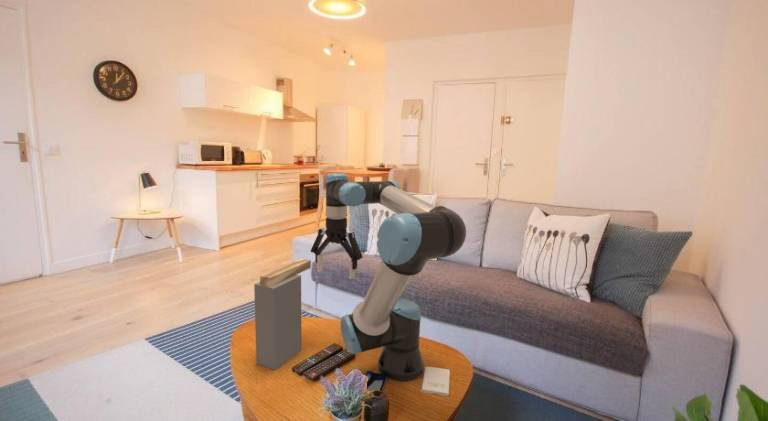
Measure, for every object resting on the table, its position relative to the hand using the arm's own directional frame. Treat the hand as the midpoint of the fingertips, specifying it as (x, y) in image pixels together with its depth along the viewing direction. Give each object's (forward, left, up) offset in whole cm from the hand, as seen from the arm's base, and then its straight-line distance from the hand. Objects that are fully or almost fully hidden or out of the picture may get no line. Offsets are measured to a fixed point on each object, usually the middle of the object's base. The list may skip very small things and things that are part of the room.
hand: (335, 274), depth 136 cm
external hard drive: (-41, +6, -28) cm, 50 cm away
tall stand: (+12, +17, -27) cm, 34 cm away
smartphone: (-24, +18, -27) cm, 41 cm away
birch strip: (+12, +12, +1) cm, 17 cm away
